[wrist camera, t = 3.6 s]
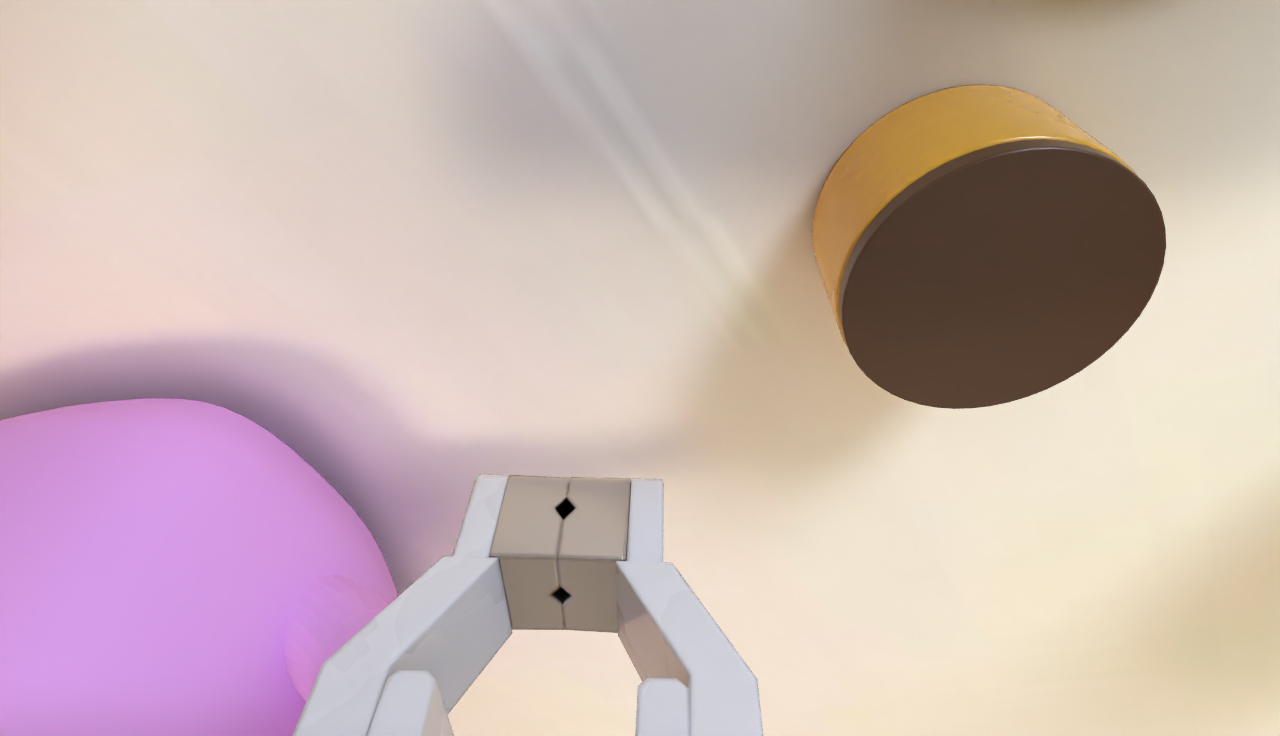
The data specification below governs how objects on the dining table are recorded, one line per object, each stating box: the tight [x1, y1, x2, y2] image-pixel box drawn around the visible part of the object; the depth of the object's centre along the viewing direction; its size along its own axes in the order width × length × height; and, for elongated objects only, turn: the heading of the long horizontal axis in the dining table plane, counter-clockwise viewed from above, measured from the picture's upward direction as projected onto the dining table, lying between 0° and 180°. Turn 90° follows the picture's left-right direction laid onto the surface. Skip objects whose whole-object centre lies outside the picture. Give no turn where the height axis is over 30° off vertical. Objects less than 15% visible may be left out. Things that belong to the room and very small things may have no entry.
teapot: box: [0, 398, 398, 736], centre depth 23 cm, size 23×21×15 cm
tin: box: [812, 85, 1166, 409], centre depth 17 cm, size 7×7×4 cm
